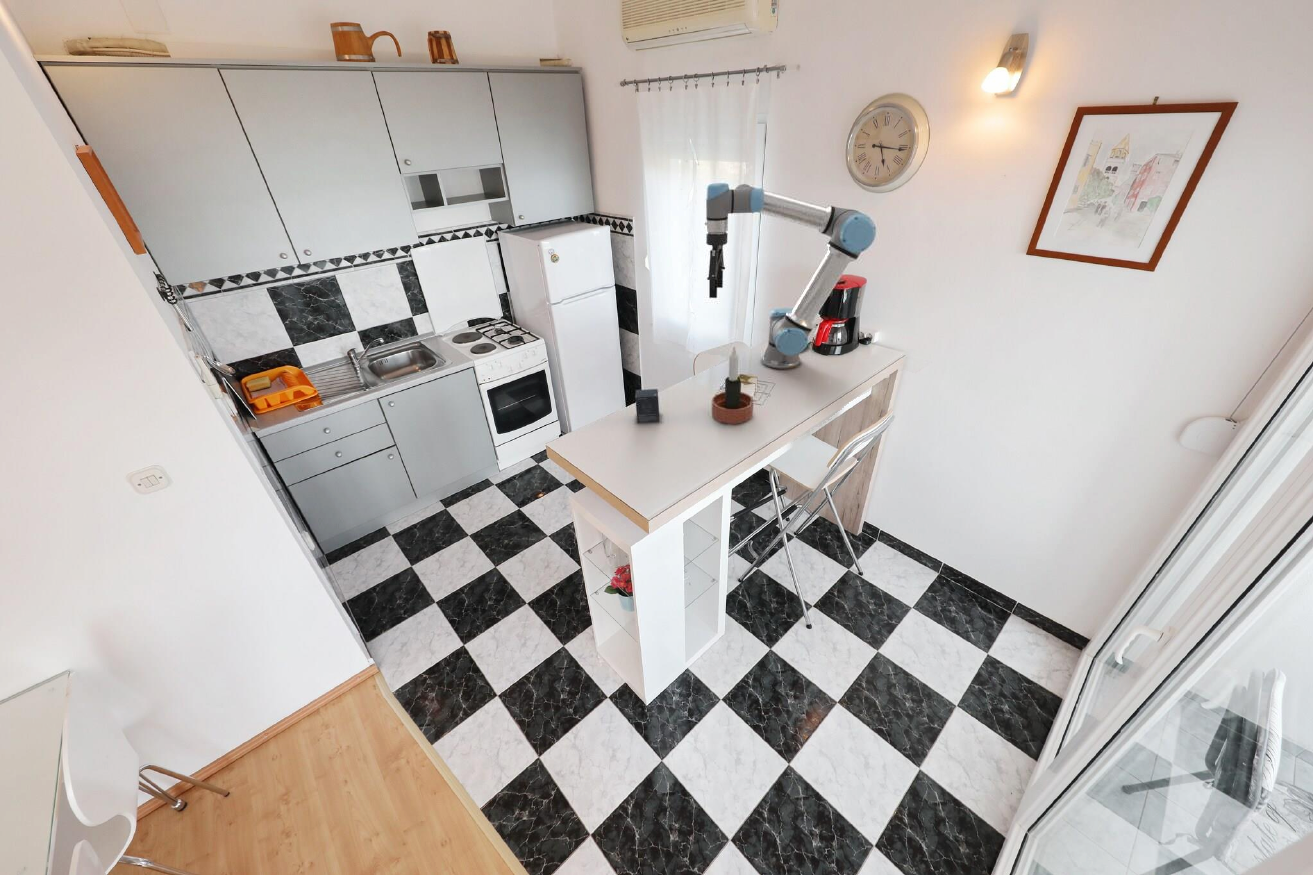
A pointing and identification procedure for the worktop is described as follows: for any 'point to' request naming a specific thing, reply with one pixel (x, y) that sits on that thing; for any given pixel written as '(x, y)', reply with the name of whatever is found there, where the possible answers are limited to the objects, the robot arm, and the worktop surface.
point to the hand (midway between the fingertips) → (716, 292)
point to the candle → (733, 384)
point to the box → (647, 405)
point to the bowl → (732, 414)
